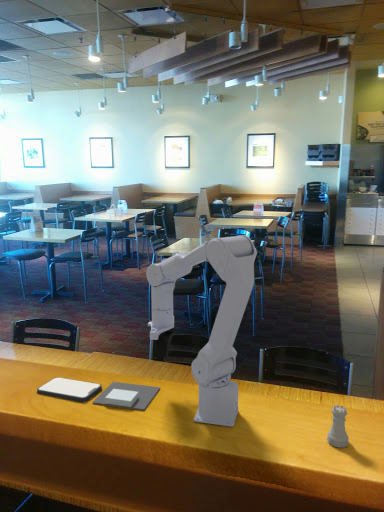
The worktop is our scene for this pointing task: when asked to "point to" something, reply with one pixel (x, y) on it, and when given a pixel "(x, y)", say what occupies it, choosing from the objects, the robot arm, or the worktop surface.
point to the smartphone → (70, 389)
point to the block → (121, 397)
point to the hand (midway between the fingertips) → (163, 356)
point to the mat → (144, 391)
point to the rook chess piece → (338, 428)
